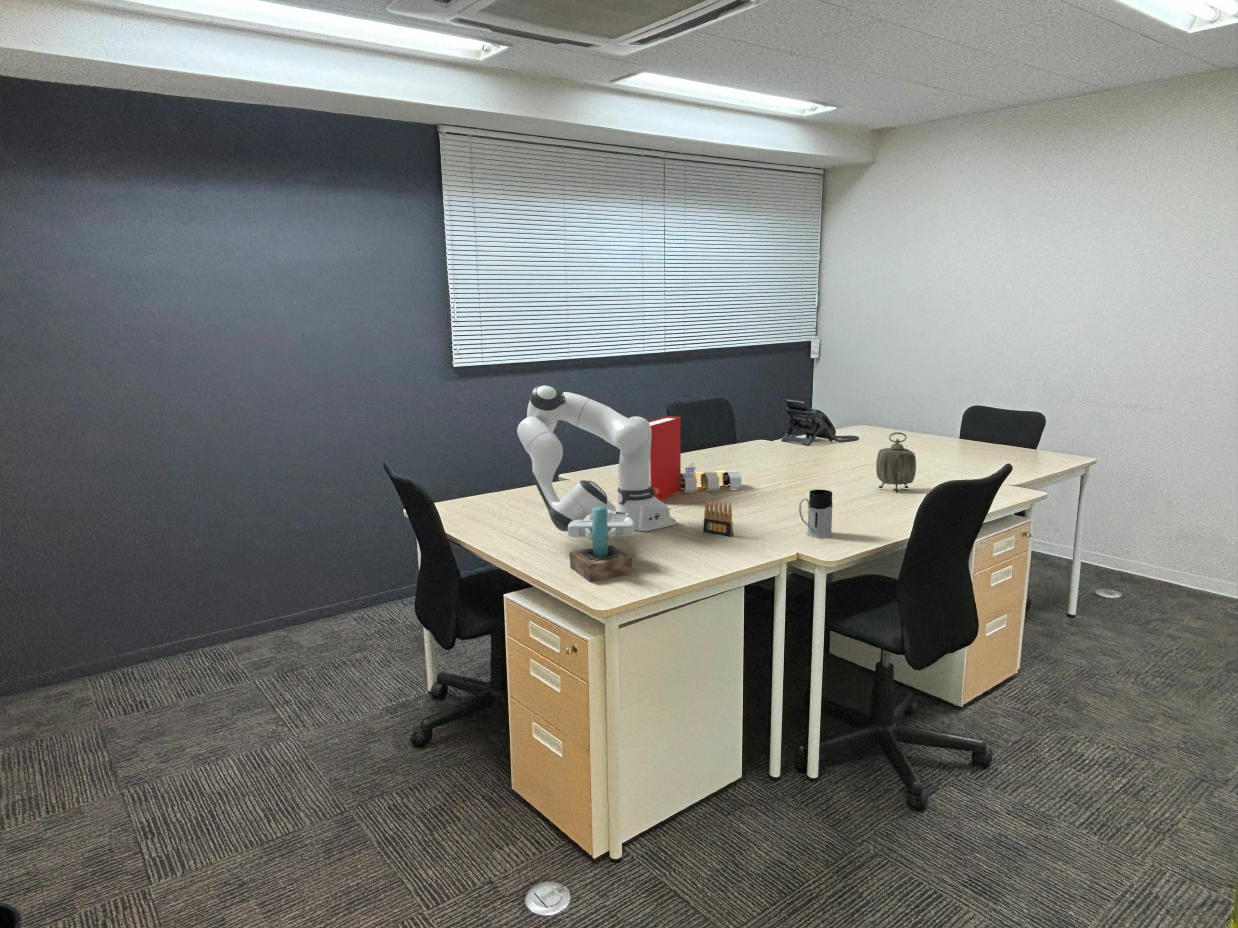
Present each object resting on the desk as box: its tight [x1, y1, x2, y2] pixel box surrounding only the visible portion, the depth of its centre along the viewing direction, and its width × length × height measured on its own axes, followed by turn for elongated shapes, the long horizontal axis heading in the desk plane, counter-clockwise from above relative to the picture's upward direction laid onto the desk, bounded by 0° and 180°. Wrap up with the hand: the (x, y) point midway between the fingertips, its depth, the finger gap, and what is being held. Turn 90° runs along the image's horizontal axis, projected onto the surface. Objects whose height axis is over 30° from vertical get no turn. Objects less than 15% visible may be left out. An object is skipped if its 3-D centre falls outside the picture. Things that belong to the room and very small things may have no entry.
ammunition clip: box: [702, 498, 734, 538], centre depth 266 cm, size 11×2×12 cm, turn 56°
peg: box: [592, 507, 609, 558], centre depth 229 cm, size 4×4×18 cm
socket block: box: [569, 545, 633, 582], centre depth 230 cm, size 14×14×5 cm
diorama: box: [681, 462, 742, 494], centre depth 332 cm, size 25×10×13 cm, turn 101°
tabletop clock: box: [875, 431, 917, 492], centre depth 322 cm, size 14×9×25 cm, turn 84°
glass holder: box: [798, 489, 833, 539], centre depth 261 cm, size 9×14×15 cm, turn 122°
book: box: [647, 415, 682, 501], centre depth 320 cm, size 27×8×32 cm, turn 149°
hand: (600, 535), depth 228 cm, fingers closed on peg, 4 cm apart
